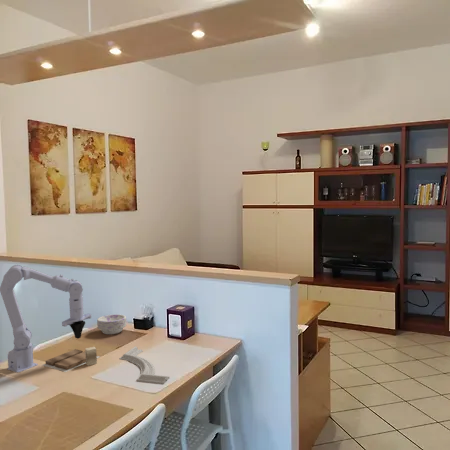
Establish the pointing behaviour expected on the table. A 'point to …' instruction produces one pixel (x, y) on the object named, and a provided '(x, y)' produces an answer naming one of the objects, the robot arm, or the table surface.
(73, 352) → the laid plank
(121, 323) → the paper bowls
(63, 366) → the board
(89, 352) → the block
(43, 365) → the underlay
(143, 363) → the molding
